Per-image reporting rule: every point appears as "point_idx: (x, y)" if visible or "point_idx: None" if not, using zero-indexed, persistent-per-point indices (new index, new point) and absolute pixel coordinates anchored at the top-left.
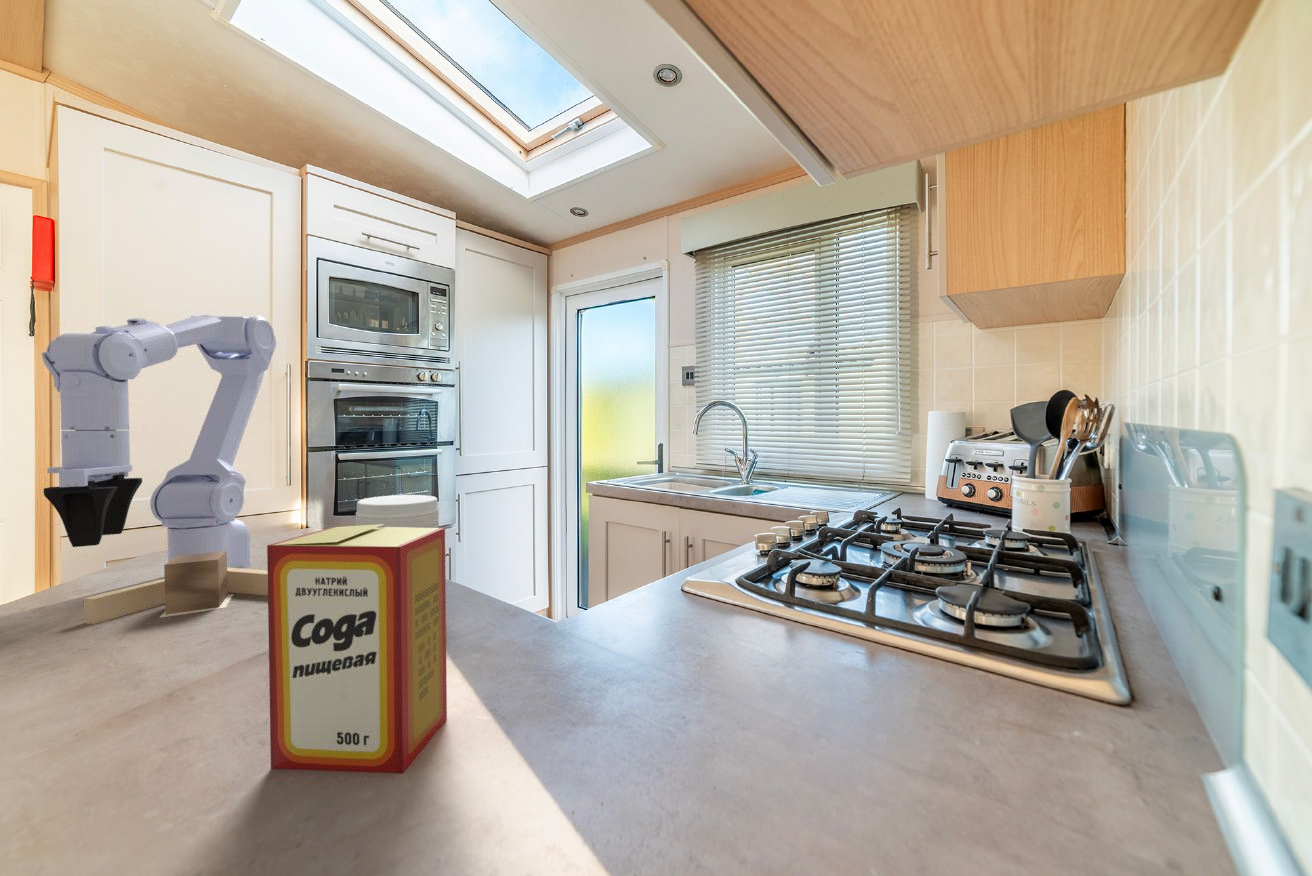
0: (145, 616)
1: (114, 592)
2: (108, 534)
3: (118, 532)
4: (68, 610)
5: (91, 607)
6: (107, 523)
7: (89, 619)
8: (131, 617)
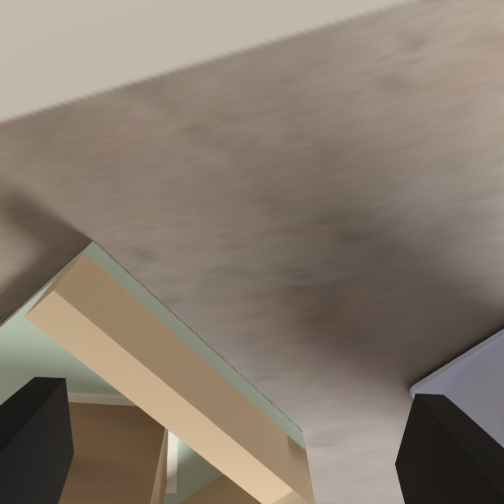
0: (194, 330)
1: (90, 349)
2: (407, 428)
3: (401, 466)
4: (422, 136)
5: (42, 296)
6: (433, 487)
7: (63, 272)
8: (205, 304)
